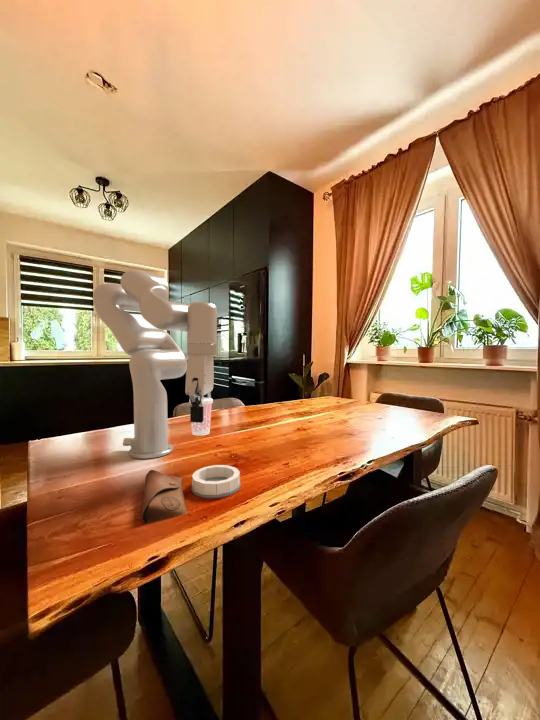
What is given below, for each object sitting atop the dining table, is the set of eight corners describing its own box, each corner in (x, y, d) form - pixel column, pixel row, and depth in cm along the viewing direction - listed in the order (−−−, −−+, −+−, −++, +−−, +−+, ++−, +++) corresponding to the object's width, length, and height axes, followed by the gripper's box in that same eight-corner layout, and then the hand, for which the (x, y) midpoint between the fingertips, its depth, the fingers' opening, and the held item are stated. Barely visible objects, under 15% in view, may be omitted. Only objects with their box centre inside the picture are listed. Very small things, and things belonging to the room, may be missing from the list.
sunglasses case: (191, 514, 57) (171, 487, 55) (157, 540, 55) (136, 513, 53) (182, 477, 74) (167, 456, 72) (156, 496, 71) (140, 474, 70)
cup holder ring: (184, 497, 63) (184, 483, 63) (200, 476, 74) (200, 464, 74) (235, 499, 63) (235, 485, 63) (244, 477, 74) (244, 465, 73)
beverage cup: (205, 428, 84) (205, 378, 83) (217, 433, 79) (217, 380, 78) (184, 432, 79) (185, 379, 79) (196, 438, 75) (196, 382, 74)
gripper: (198, 349, 87) (197, 411, 88) (174, 350, 70) (174, 427, 71) (223, 350, 87) (222, 412, 87) (206, 351, 69) (205, 428, 70)
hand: (200, 418), depth 79 cm, fingers closed on beverage cup, 6 cm apart
